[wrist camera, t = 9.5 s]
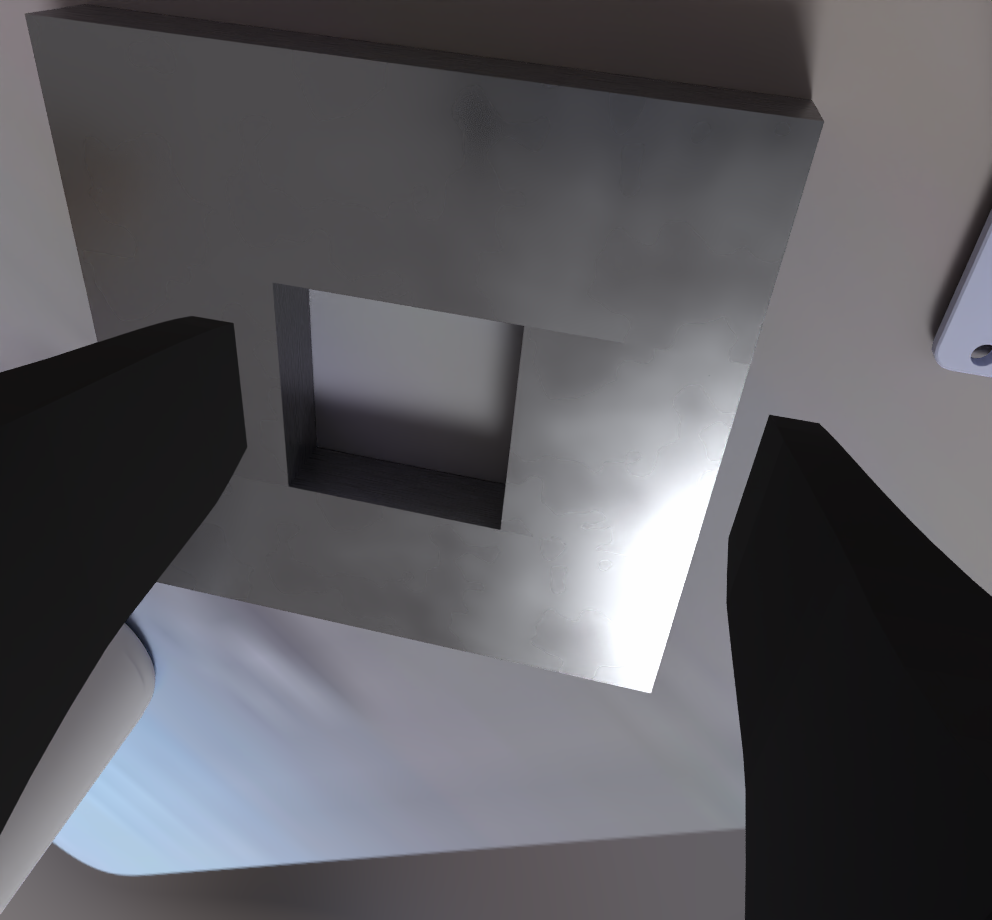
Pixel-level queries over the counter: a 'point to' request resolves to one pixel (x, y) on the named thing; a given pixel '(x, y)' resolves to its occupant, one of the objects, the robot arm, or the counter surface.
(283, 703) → the counter surface
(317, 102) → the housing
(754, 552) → the robot arm
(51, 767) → the pill bottle
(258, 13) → the counter surface
